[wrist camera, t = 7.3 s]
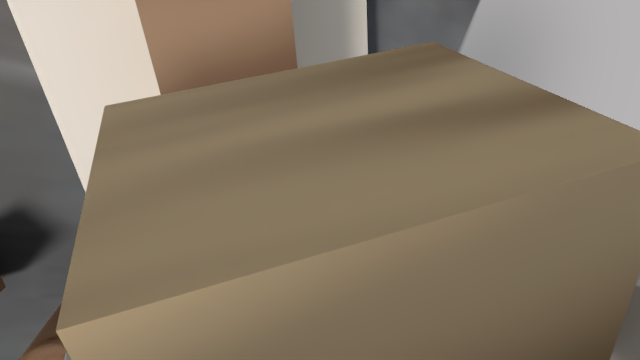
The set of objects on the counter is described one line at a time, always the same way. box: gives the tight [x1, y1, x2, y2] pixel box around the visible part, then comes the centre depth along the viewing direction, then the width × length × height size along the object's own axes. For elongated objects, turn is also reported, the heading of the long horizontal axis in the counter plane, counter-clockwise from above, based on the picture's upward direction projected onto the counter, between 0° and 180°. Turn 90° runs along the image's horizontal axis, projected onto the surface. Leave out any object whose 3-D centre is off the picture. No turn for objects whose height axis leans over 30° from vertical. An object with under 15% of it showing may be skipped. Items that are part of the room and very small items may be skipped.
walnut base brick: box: [135, 0, 298, 95], centre depth 22 cm, size 8×6×5 cm
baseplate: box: [7, 0, 368, 192], centre depth 25 cm, size 18×17×1 cm
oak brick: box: [56, 42, 640, 360], centre depth 8 cm, size 8×6×5 cm
